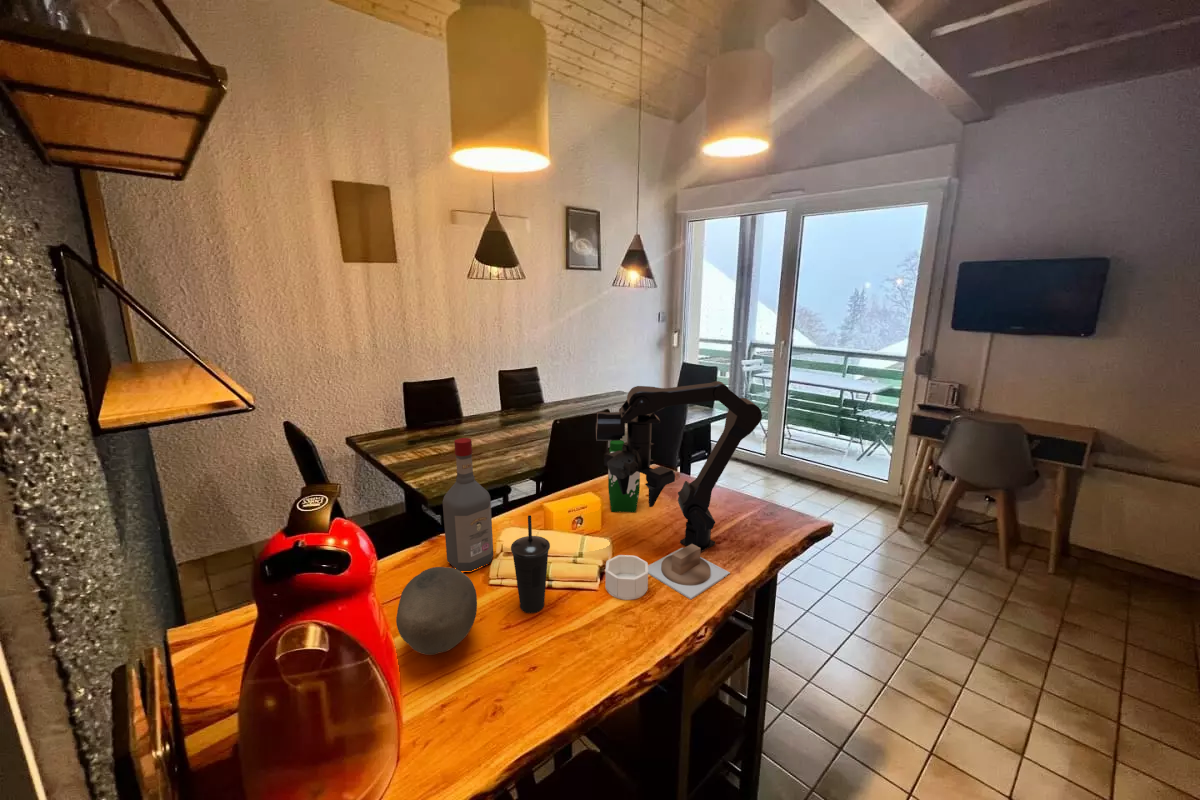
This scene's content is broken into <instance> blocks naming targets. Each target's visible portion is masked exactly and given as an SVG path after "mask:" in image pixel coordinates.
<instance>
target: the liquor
mask: <svg viewBox="0 0 1200 800" xmlns="http://www.w3.org/2000/svg"><path fill="white" fill-rule="evenodd" d="M453 445H454V455H455V461H456V465H455V466H456V477H455V482H454V484H453V485H452V486H451V487H450V488H449V490H448V491H447V492H446V493H445V495H444V496H443V500H442V512H443V524H444V525H443V526H444V536H445V537H444V538H445V550H446V551H445V552H446V561H447V562H449V563H450V564H451V565H452V566H451V565H450V564H449V563H448V564H449V565H450V566H451V567H453V566H454V567H455V568H456V569H457V570H459V571H472V570H474V569H477V568H479V567H481V566H484V565H486V564H489V562H490V563H491V562H492V560H493V558H494V541H493V521H492V503H491V501H492V499H491V495H490V493H489V491H488V490H487V489H486V488H485V487H483V486H482V485H481V484H480V483H479V482H478V481H477V480H476V478H475V476H474V468H473V456H472V455H473V447H472V446H473V445H472V439H471V438H470V437H460V438H456V439H455V440H454V443H453ZM489 565H490V564H489ZM454 567H453V568H454ZM455 568H454V569H455Z"/></svg>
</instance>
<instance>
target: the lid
mask: <svg viewBox="0 0 1200 800" xmlns="http://www.w3.org/2000/svg"><path fill="white" fill-rule="evenodd" d="M682 548H683V549H681V550H679V551H678V552H676V553H674V554H672V555H671V556H668V557H666V558H665V559H664V560H663V561H662V564H661V571H662V574H663V575H664V576H665V577H666V578H667V579H668V580H670V581H672V582H674V583H677V584H681V585H699V584H702V583H704V582H706V581H707V580H708V579H709V577H710V566H709V564H708V563H707V562H706V561H704V560H703V559H704V558H703V559H701V558H702V557H701V553H702V552H701V548H700V547H698V546H696V545H694V544H690V545H689V546H685V547H682ZM700 557H701V558H700Z"/></svg>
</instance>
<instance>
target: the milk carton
mask: <svg viewBox="0 0 1200 800" xmlns="http://www.w3.org/2000/svg"><path fill="white" fill-rule="evenodd" d="M623 444H625V441H624V440H622V439H620V441H610V442H609V450H608V451H609V452H608V454H609V453H613V452H616V451H619V450H620V451H622V446H623ZM607 469H608V468H607ZM607 473H608V474H607V477H608V478H607V480H608V481H607V482H608V484H607V487H608V498H609V499H608V500H609V505H610V512H611V513H637V508H638V503H639V499H640V498H639V497H640V487H641V485H640V484H641V480H640V479H641V473H640V472H638V471H637V472H635V473H634V474H633V475H632V476H631V475H630V477H629V483H628V489H627V492H626V494H625V495H623V494H622V492H621V489H620V486H619V483H618V480H617V478H616V476H614V475H611V474H610V471H609V469H608V472H607Z"/></svg>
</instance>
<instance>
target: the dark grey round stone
mask: <svg viewBox="0 0 1200 800" xmlns="http://www.w3.org/2000/svg"><path fill="white" fill-rule="evenodd" d="M477 610H478V598H477V590H476V588H475V585H474V582H473V581H472V579H470V578H469V576H468V575H467V574H466V573H462V572H461V571H459V570H457V569H455V568H454V567H445V566H435V567H430V568H427V569H425V570H423V571H421V572H420V573H419V574H417V575H415V576H413V577H412V578H411V580H409V581H408V583H407V584H406V585H405V587H404V588H403V589H402V592H401V595H400V598H399V603H398V605H397V612H396V620H395V622H396V627H397V631H398V633H399V635H400V637H401V638H402V639H403V641H404V642H405V643H406V644H408V646H410V648H411V649H412V650H414V651H416V652H417V653H420V654H423V655H428V656H432V655H437V654H439V653H445V652H448V651H450V650H451V649H453V648H454V647H456V646H457V645H458V644H459V643H461V642H462V641H463V640H464V639H465V638H466V637H467V635H468V634H469V632H470V631H471V628H473V625H474V623H475V621H476V617H477Z"/></svg>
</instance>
